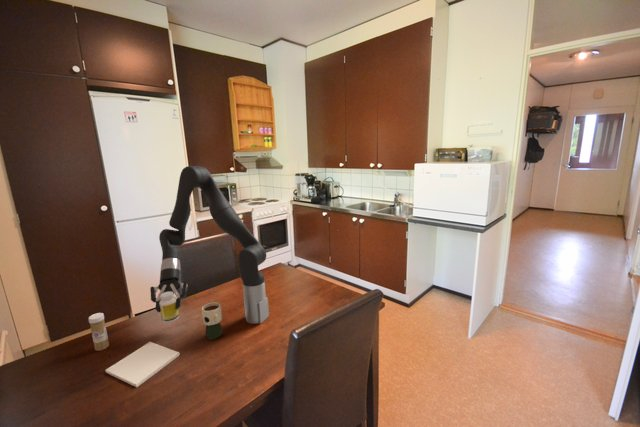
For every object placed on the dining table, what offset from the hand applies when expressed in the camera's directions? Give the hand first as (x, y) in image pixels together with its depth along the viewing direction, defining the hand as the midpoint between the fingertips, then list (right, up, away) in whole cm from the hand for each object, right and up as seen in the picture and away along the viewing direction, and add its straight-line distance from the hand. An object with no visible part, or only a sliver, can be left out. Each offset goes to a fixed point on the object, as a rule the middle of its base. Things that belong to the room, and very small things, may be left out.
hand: (168, 310), depth 114 cm
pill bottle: (0, -5, +3) cm, 5 cm away
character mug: (+18, -11, +1) cm, 21 cm away
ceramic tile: (-1, -14, -13) cm, 20 cm away
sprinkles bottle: (-23, -13, -4) cm, 27 cm away
